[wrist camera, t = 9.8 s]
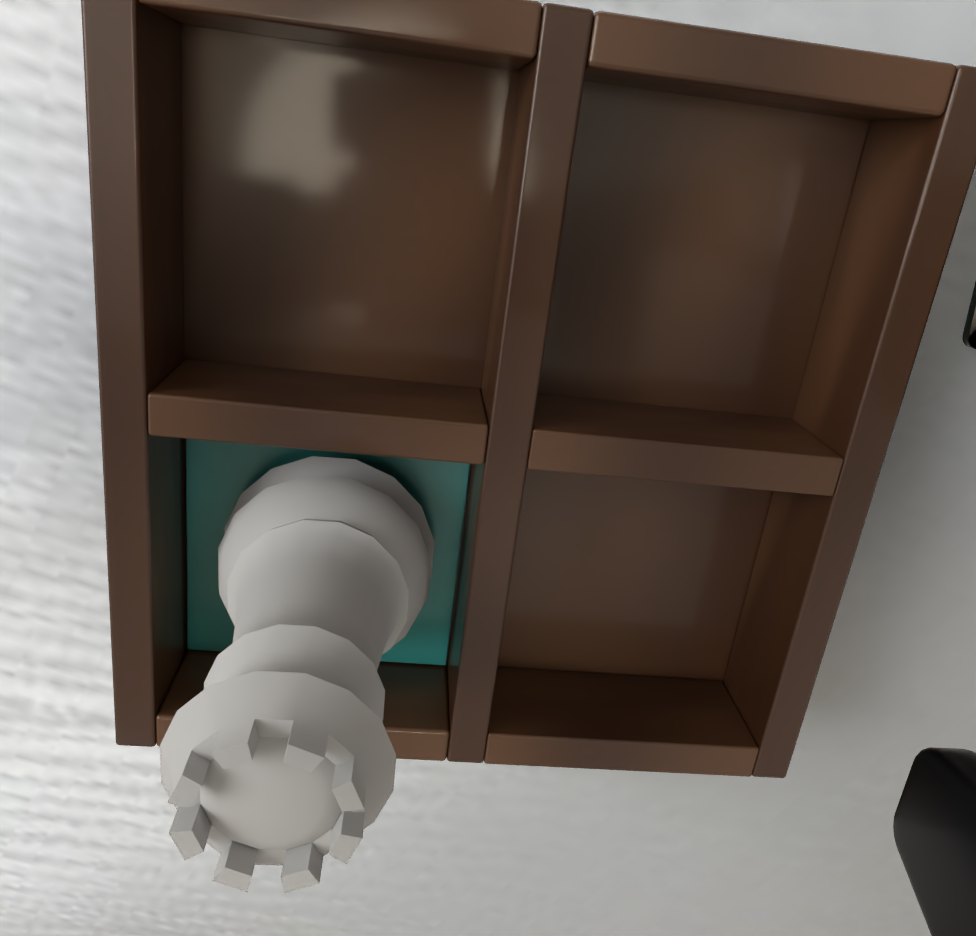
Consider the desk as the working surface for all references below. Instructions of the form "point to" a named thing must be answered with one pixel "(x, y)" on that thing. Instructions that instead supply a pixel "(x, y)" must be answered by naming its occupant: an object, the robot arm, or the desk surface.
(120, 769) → the desk surface
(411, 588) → the rook chess piece
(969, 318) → the build plate
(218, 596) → the grid
